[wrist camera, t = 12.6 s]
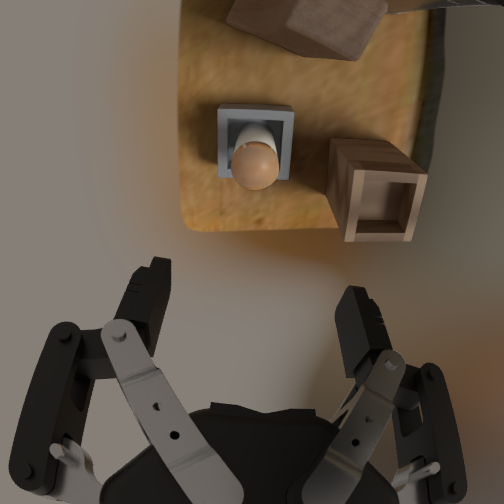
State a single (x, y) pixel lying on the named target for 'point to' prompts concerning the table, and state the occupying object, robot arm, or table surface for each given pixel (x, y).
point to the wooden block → (311, 25)
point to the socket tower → (373, 190)
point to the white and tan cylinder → (255, 157)
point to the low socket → (243, 114)
